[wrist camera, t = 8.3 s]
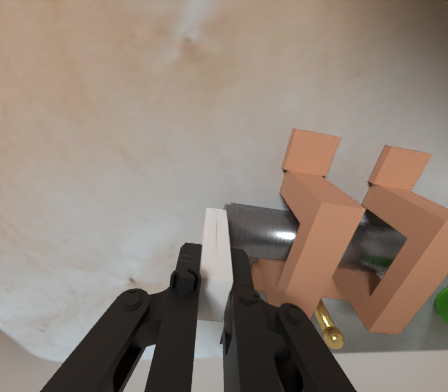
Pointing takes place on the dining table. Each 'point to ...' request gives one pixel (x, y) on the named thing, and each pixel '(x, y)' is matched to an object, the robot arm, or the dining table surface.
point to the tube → (287, 229)
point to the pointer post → (328, 328)
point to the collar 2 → (410, 252)
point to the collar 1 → (309, 225)
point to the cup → (442, 304)
